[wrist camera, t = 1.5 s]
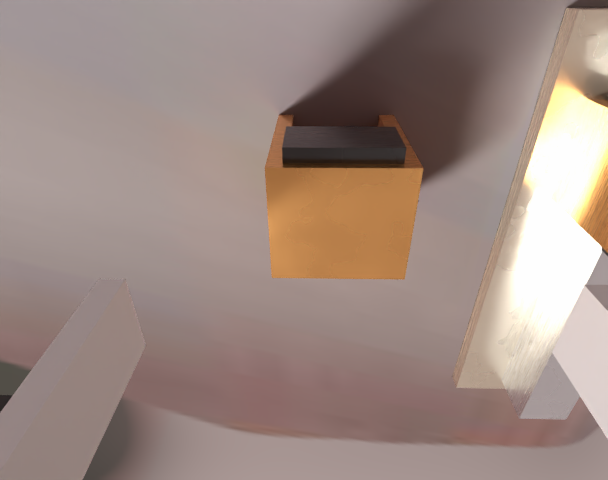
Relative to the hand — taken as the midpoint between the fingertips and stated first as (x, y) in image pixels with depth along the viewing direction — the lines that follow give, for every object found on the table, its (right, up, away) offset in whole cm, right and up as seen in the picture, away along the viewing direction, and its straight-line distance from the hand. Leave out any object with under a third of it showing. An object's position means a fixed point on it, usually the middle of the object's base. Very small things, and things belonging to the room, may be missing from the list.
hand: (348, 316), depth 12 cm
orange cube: (0, +6, +9) cm, 11 cm away
